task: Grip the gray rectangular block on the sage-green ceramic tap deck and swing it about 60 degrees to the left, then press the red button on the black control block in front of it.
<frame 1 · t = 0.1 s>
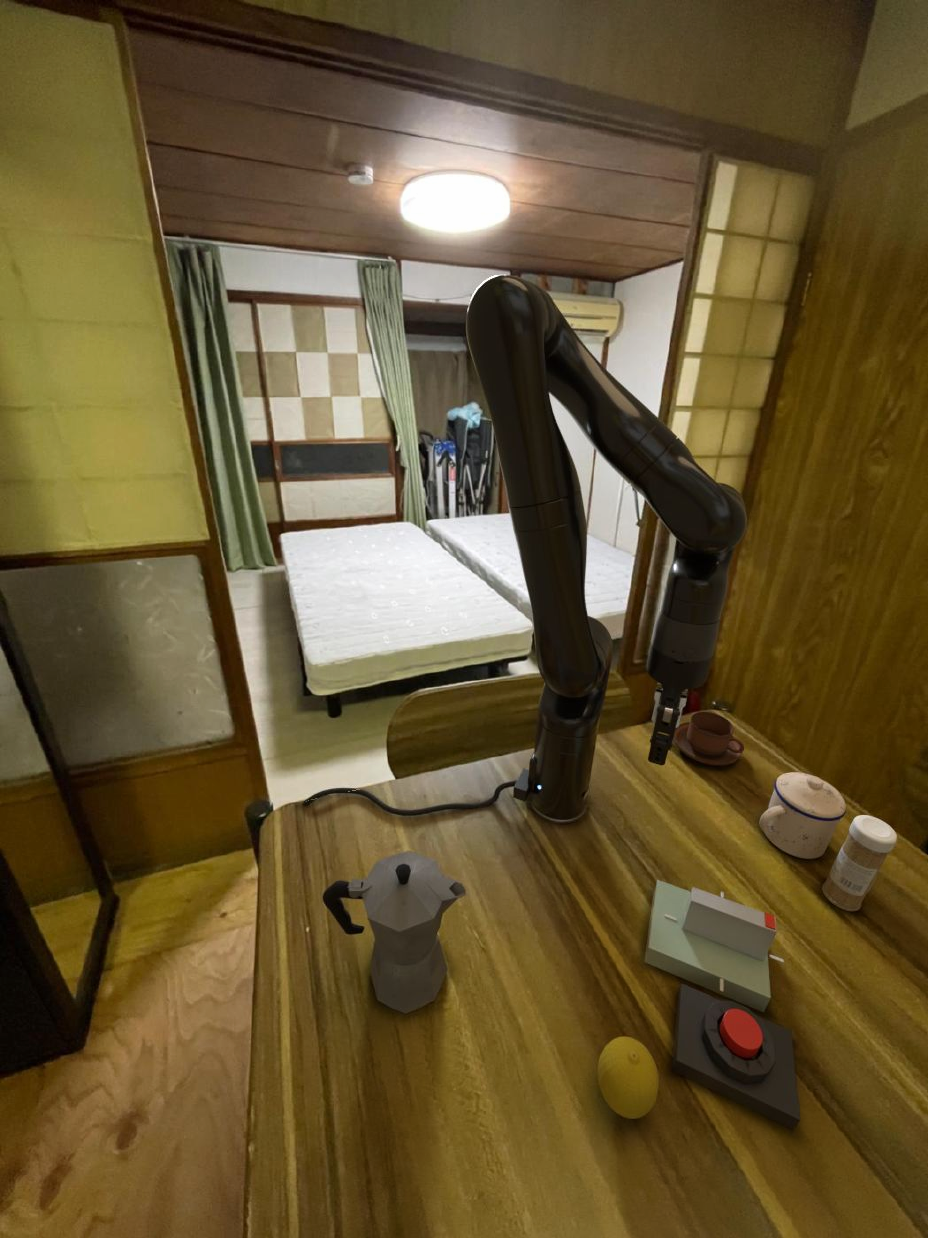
hand: (659, 743, 73), 17 cm above the table, tool pointing down, fingers open, 8 cm apart
tap button: (740, 1033, 52), point 4 cm above the table, slide at 0.1 cm
tap deck: (702, 947, 64), on the table
button block: (730, 1055, 54), on the table
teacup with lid: (784, 839, 79), on the table
lemon: (621, 1098, 51), on the table
gray rectangular block: (727, 922, 61), point 6 cm above the table, hinge at 0.0°
coffeepot: (399, 972, 61), on the table
sprinkles bottle: (839, 898, 71), on the table
cup and saucer: (704, 750, 98), on the table
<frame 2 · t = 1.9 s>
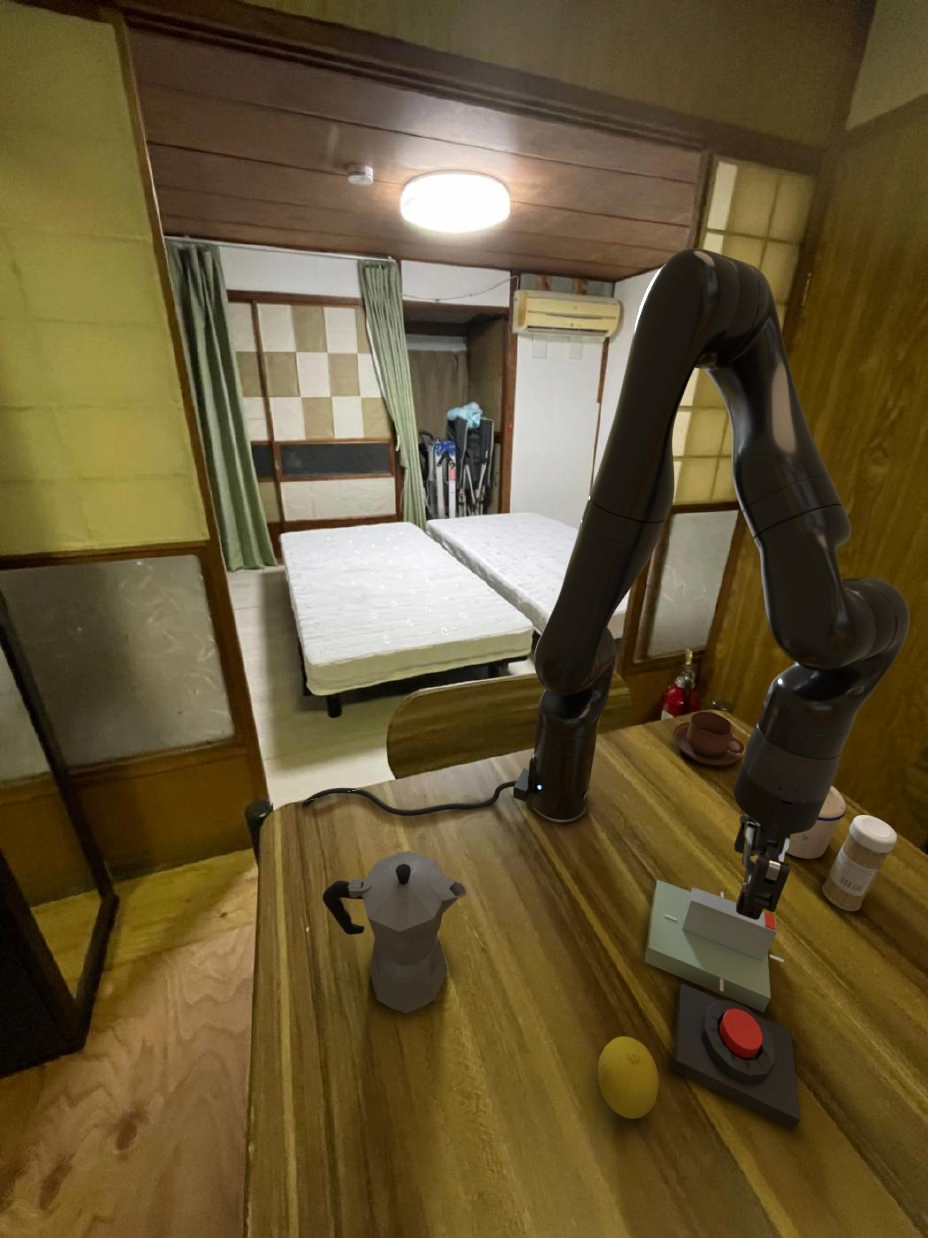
hand: (744, 881, 58), 13 cm above the table, tool pointing down, fingers open, 8 cm apart
nothing on the table moved.
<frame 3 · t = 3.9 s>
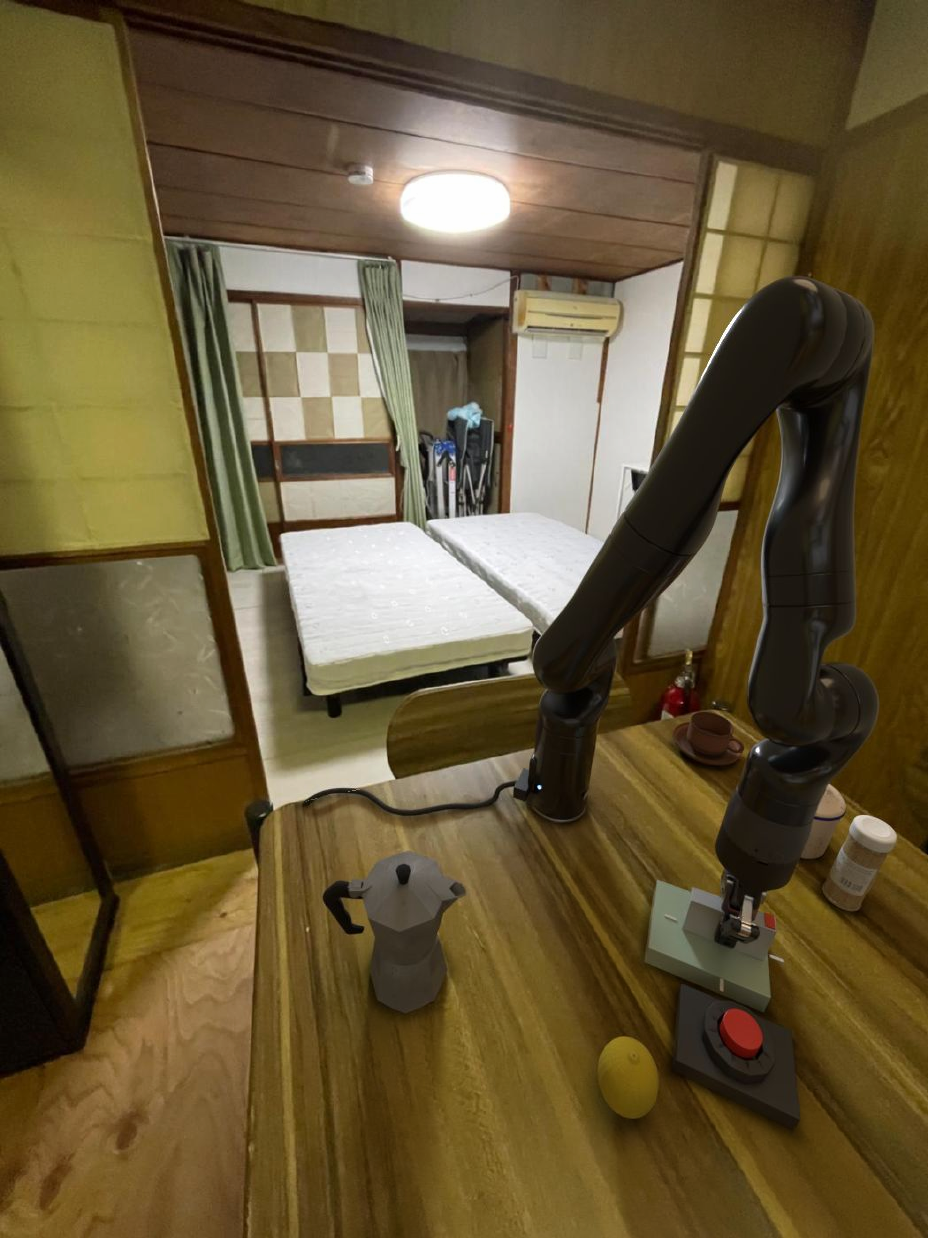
hand: (723, 932, 62), 4 cm above the table, tool pointing down, fingers closed on gray rectangular block, 2 cm apart
gray rectangular block: (727, 922, 61), point 6 cm above the table, hinge at 0.1°, touching gripper
everything else where it was.
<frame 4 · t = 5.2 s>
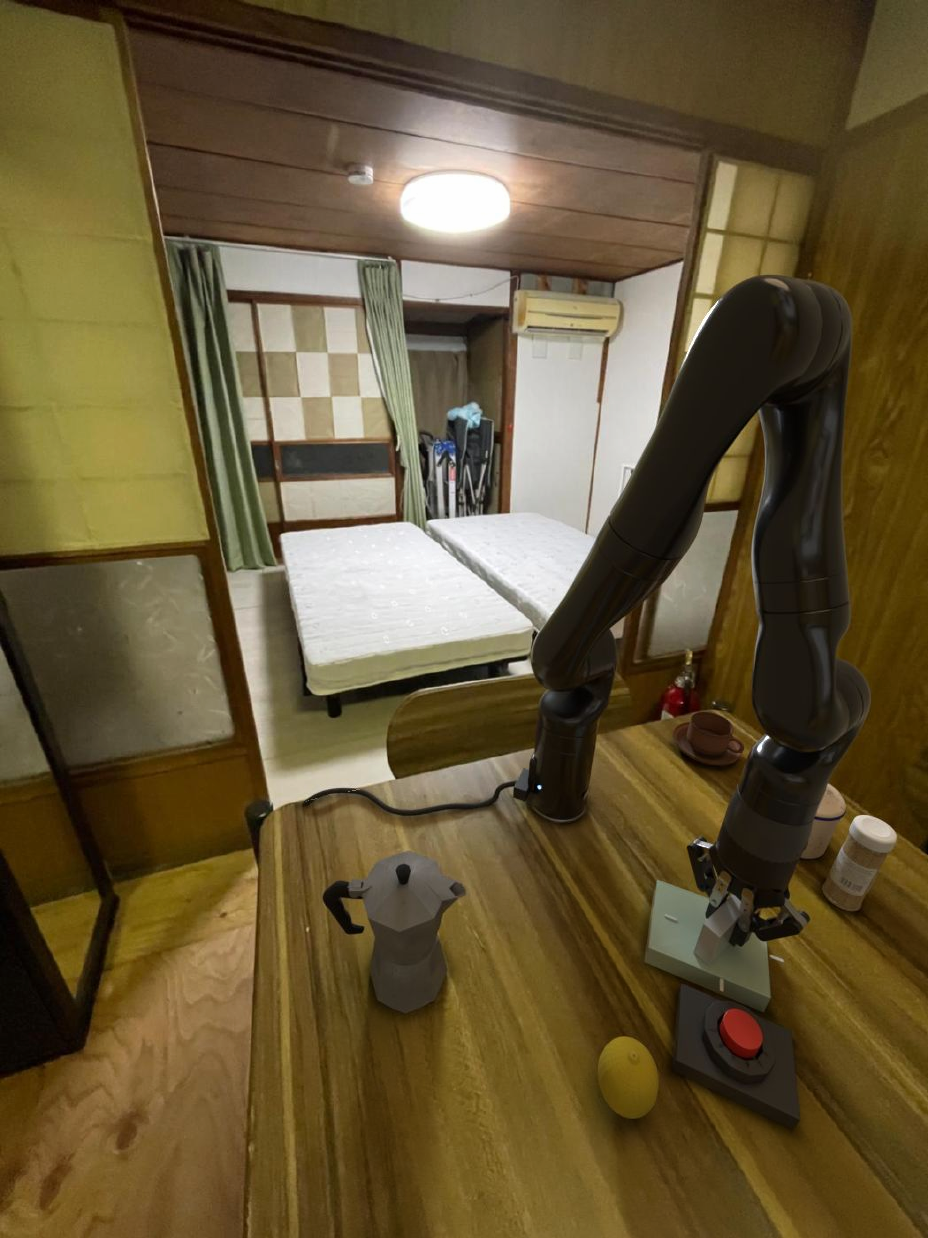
hand: (725, 931, 62), 4 cm above the table, tool pointing down, fingers closed on gray rectangular block, 2 cm apart
gray rectangular block: (727, 922, 61), point 6 cm above the table, hinge at 60.1°, touching gripper
everything else where it was.
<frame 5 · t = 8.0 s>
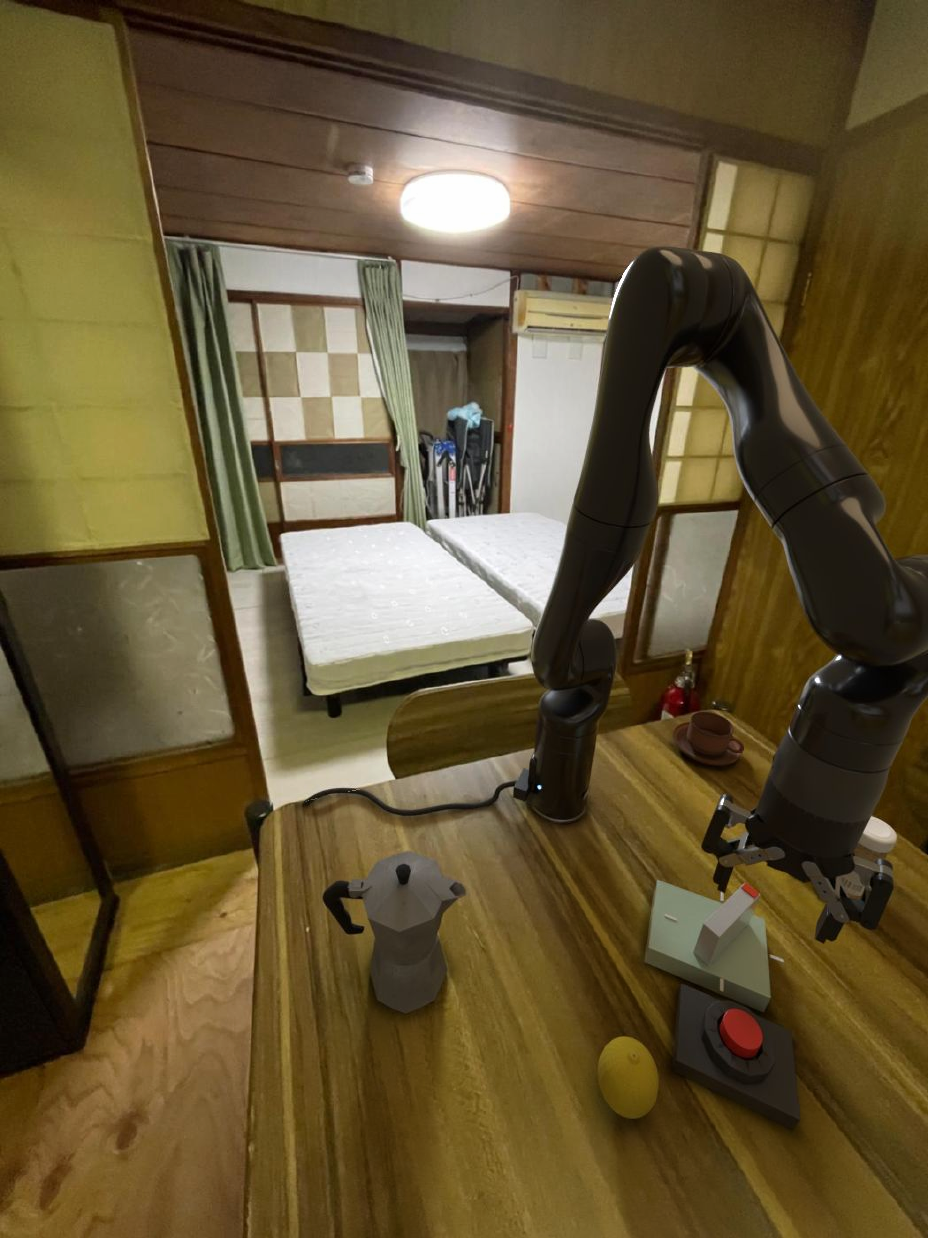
hand: (769, 909, 51), 17 cm above the table, tool pointing down, fingers open, 8 cm apart
gray rectangular block: (727, 922, 61), point 6 cm above the table, hinge at 59.9°
everything else where it was.
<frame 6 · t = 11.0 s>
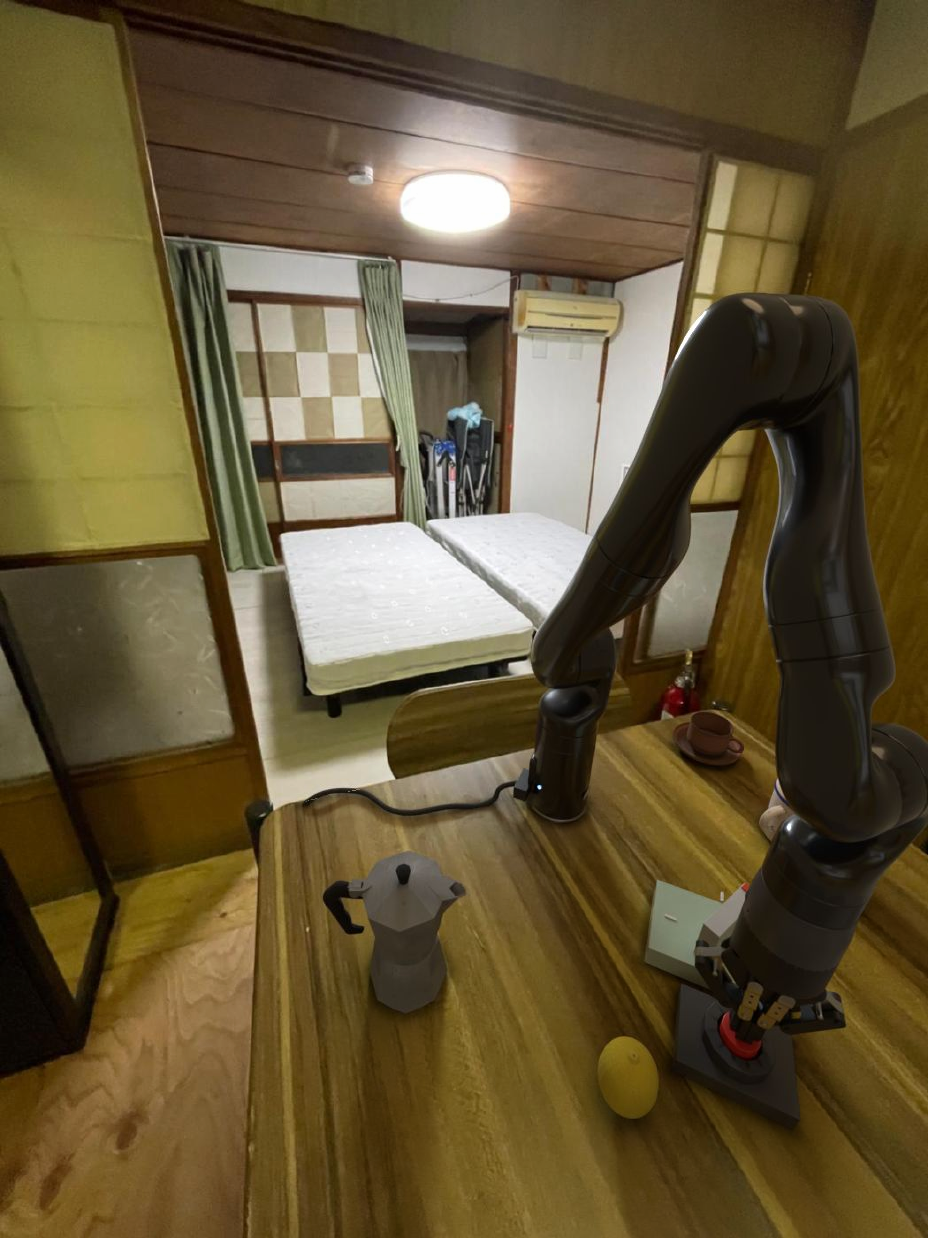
hand: (742, 1032, 52), 5 cm above the table, tool pointing down, fingers closed
tap button: (739, 1035, 52), point 4 cm above the table, slide at -0.4 cm, touching gripper
everything else where it was.
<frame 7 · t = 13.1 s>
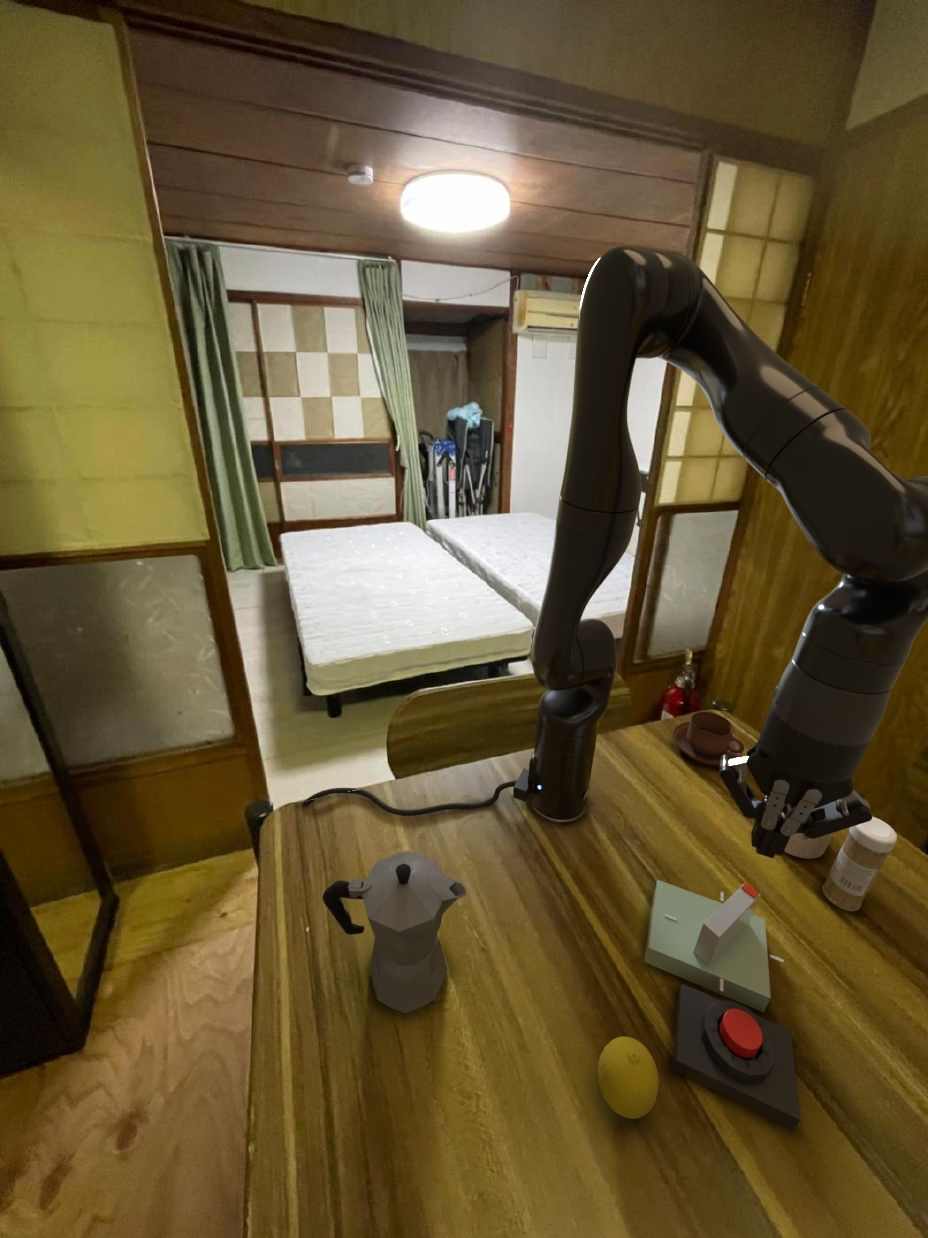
hand: (764, 849, 52), 21 cm above the table, tool pointing down, fingers closed
tap button: (740, 1033, 52), point 4 cm above the table, slide at 0.1 cm
everything else where it was.
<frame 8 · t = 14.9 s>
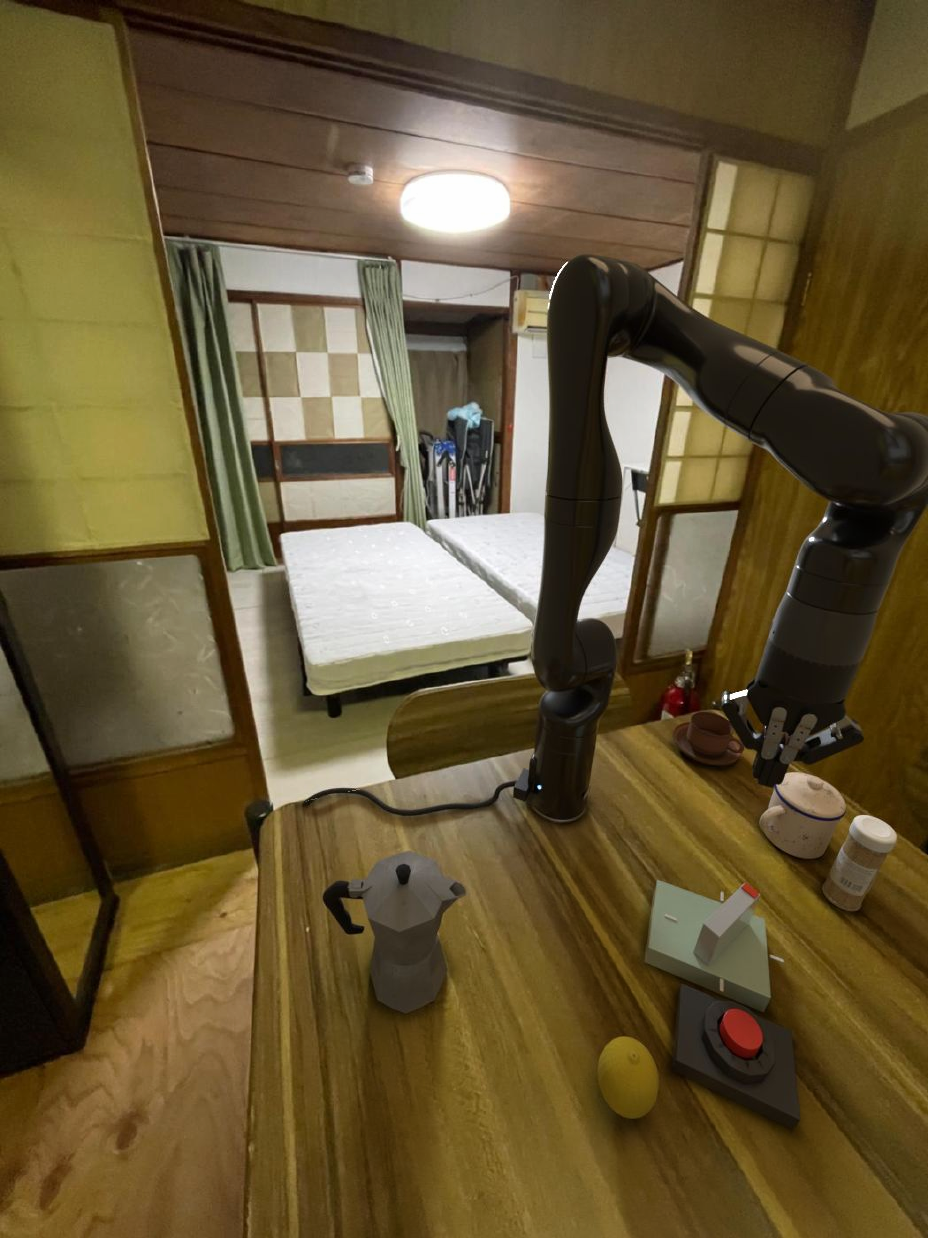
hand: (764, 781, 56), 25 cm above the table, tool pointing down, fingers closed
nothing on the table moved.
at the end: gray rectangular block at +60° (first picture: +0°); tap button pushed in 1.1 cm at the most during the clip, back to where it started at the end; tap button slide at 0.1 cm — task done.
